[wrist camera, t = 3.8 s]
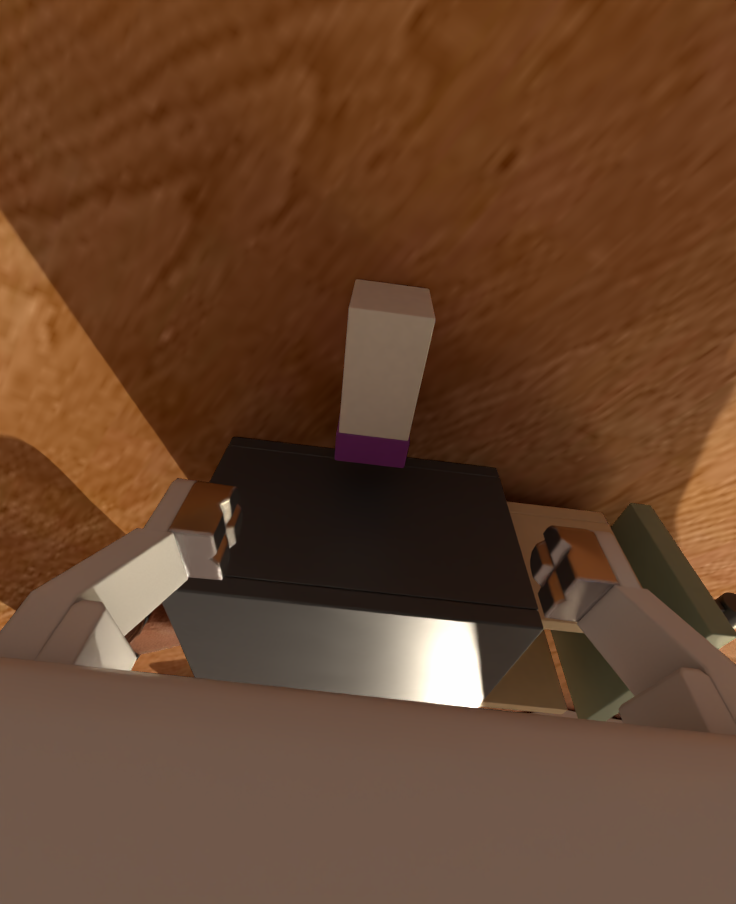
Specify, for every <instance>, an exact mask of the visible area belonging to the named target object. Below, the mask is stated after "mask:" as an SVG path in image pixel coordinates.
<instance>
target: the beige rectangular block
mask: <svg viewBox="0 0 736 904" xmlns="http://www.w3.org/2000/svg"><path fill="white" fill-rule="evenodd" d="M435 320H436V319H435V314H434V310H433V305H432V300H431V295H430V291H429V289H427V288H419V287H412V286H404V285H397V284H389V283H382V282H374V281H367V280H359V279H356V280H355V284H354V289H353V293H352V297H351V301H350V305H349V310H348V322H347V335H346V347H345V360H344V372H343V385H342V397H341V410H340V416H339V422H338V427H337V432H336V444H335V458H334V459H335V460H338V461H346V462H355V463H363V464H372V465H380V466H389V467H397V468H404V466H405V462H406V457H407V453H408V449H409V444H410V430H411V425H412V421H413V417H414V412H415V408H416V403H417V399H418V395H419V390H420V386H421V381H422V377H423V373H424V368H425V364H426V359H427V355H428V351H429V346H430V342H431V337H432V333H433V328H434V324H435Z"/></svg>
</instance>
